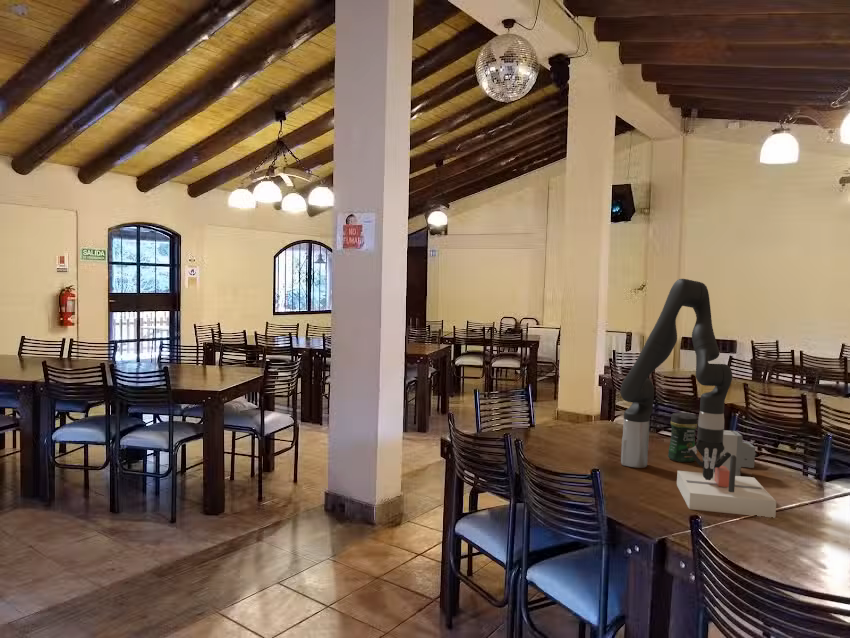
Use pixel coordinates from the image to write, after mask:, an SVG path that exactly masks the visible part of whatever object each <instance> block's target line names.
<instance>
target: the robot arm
mask: <svg viewBox="0 0 850 638" xmlns="http://www.w3.org/2000/svg"><path fill="white" fill-rule="evenodd" d="M682 307H687V308H691V309H692V310H693V311H694V314H695V317H696V320H695V323H694V326H693V329H692V332H691V342H692V345H693V348H694V353H695V358H696V359H695V363H696V364H695V378H696V381H697V382H698V383H699V384H700V385H702V386H705V387H708V386H709V387H713V389H712V390H711V391H707V392H704V393H702V394H701V395H700V400H699V402H700V404H699V415H698V418H697V435H696V438H697V440H696V441H695V446H694V447H693V448H689V449H688V451H689V452H690V454H691V455H692V456H693V458H694V459H695V461H694V462H696V463H697V465H698V466H699V467H702V473H703V477H704V478H705V480H711V478H713V474H714V472H713V470H714V468H719V467H720V466H721V465H722V464H723V463H724V462H725V461H726V460H727V459H728V458H729V457H730V456H731V454H730V453H729V452H728V451H726V450H725V449H724V445H723V434H724V430H725V414H724V413H725V401H726V398H727V394H728V392H729V389H730V386H731V384H732V381H733V370H732V369H731V367H730V366H729V365H728V364H726V363H709V362H713V361H714V360H717V359H718V358H719V357H720V349H719V345H718V343H717V340H716V336H715V332H714V328H713V323H712V322H713V320H712V311H711V300H710V293H709V290H708V287H707V285H706V284H705V283H703V282H702V281H701V282H700V281H698V280H693V279H688V278H678V279H677V280H676V281H675V282H674V283H673V284H672V286H671V288H670V290H669V292H668V295H667V298H666V300H665V302H664V304H663V308H662V310H661V312H660V315H659V316H658V318H657V321H656V323H655V325H654V327H652V328H653V329H652V330H651V332H650V334H649V335H648V337H647V339H646V341H645V343H644V346H643V348H642V350H641V351H640V353H639V355H638V357H637V359H636V361H635V363H634V364H633V365H632V367H631V369H630V370H629V372H628V373H627V375H626V376H625V377H624V378H623V381H622V383H621V385H620V389H619V390H620V396H621V398H622V400H624V401H626V402H628V403H631V405H630V406H629V407H628V408H627V409H625V410H624V411H623V412H624V413H623V421H622V422H623V423H622V424H623V426H622V437H621V452H620V453H621V454H620V463H621V465H622V466H624V467H629V468H636V469H639V468H646V467H648V456H649V455H648V454H649V453H648V451H649V434H650V419H651V418H650V417H651V416H652V413H653V407H654V399H655V398H654V397H655V396H654V395H655V389H654V388H655V387H654V384H653V382H652V380H651V379H650V378H649V376H651V374H652V373H653V372H654V371H655V370H656V369H657V368H659V366H661V365H662V364H663V363H664V362H665V361H666V360H667V359H668V358H669V357H670V355H671V354H672V351H673V349H674V348H675V347H676V344H677V342H678V332H677V317H678V315H679V312H680V310H681V309H682ZM698 452H699V454H700V456H701V457H702V460H701V459H700V458H699V457H698V455H697V454H698ZM721 452H722V456H721V457H720V458H719V459H718V460H717V461H716V457H718V456H719V455H720V454H721ZM715 461H716V462H715Z"/></svg>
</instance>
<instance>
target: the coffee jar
mask: <svg viewBox="0 0 850 638" xmlns="http://www.w3.org/2000/svg"><path fill="white" fill-rule="evenodd" d="M670 426H671V432H670V433H671V434H670V440H669V441H670V442H669V447H668V452H667V453H668V454H667V457H668V458H669V459H670V460H671V461H675V462H678V463H691V462H696V461H695V459H694V458H693V456H692V455H691V454H690V452H689V451H688V449H689V448H693V447H694V446H695V444H696V437H695V436H696V430H697V428H698V416H697V415H696V414H694V413H690V412H677V413H676V412H672V414H671V418H670Z"/></svg>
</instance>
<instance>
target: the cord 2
mask: <svg viewBox="0 0 850 638" xmlns="http://www.w3.org/2000/svg"><path fill="white" fill-rule="evenodd" d="M735 471H736V456H735V455H732V456H731V457H730V473H729V489H728V491H729V492H734V487H735Z"/></svg>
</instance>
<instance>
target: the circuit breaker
mask: <svg viewBox="0 0 850 638" xmlns="http://www.w3.org/2000/svg"><path fill="white" fill-rule="evenodd" d="M743 438H744V437H743V435H742V434H741V433H739V432H738V431H737V430H725V429H724V434H723V445H724V449H725V450H726V451H728V452H729V453H730V454H731V456H732V455H735V456H736V471H735V476H741V470H742V468H750V469H752V468H753V469H754V468H755V460H756V459H755V458H759V454H758V453H757V452H756V447H755V446H754V445H753V444H752V443H751V442H749V441H743V440H744V439H743ZM721 456H722V452H721V454H720V457H721ZM731 456H730V457H731ZM730 457H729V458H728V459H727V460H726V461H725V462H724V463H723V464H722V465H721V466H726V467H727V469H728V470H729V471H730ZM713 474H715V472H714V470H713Z"/></svg>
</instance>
